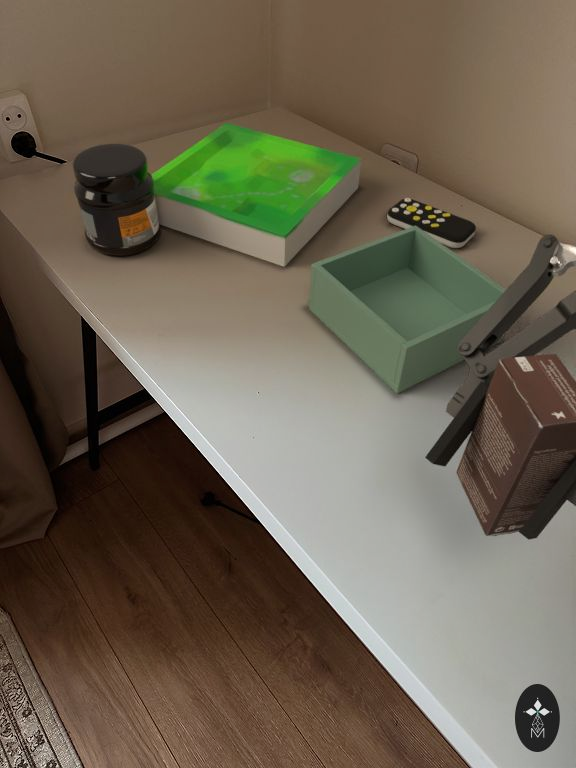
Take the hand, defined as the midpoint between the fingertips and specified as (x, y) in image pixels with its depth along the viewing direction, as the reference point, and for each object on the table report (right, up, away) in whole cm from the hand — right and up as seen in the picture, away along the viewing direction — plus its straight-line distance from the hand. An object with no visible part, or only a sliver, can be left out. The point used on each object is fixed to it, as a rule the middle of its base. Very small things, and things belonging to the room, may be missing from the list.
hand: (479, 496), depth 43 cm
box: (+3, -1, +4) cm, 5 cm away
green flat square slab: (-19, +36, +57) cm, 70 cm away
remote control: (+8, +31, +53) cm, 62 cm away
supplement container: (-37, +29, +49) cm, 68 cm away
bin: (+1, +15, +37) cm, 40 cm away
